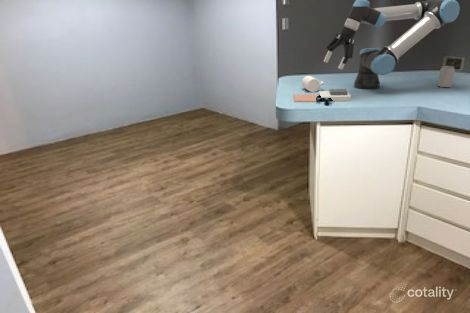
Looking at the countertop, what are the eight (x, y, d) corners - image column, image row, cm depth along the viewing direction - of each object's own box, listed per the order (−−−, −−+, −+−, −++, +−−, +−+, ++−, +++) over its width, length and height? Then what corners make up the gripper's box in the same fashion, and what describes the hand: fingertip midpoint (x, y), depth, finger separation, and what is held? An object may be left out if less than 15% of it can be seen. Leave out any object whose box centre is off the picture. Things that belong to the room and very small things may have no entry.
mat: (318, 95, 215) (318, 94, 215) (320, 101, 203) (320, 101, 202) (293, 95, 217) (293, 94, 217) (294, 101, 204) (294, 101, 204)
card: (345, 92, 209) (345, 88, 208) (347, 95, 203) (347, 91, 202) (329, 92, 210) (329, 89, 209) (330, 95, 204) (330, 91, 204)
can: (445, 88, 217) (449, 68, 212) (434, 86, 224) (438, 66, 219) (454, 87, 220) (458, 66, 215) (443, 84, 226) (447, 64, 221)
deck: (347, 95, 212) (347, 91, 211) (350, 101, 201) (350, 96, 200) (318, 95, 214) (318, 91, 213) (320, 101, 203) (320, 96, 202)
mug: (307, 92, 222) (307, 79, 218) (301, 88, 231) (301, 76, 227) (325, 90, 224) (326, 77, 220) (319, 87, 233) (319, 74, 229)
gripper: (331, 21, 209) (315, 57, 216) (360, 30, 189) (341, 70, 197) (340, 26, 213) (324, 61, 220) (370, 35, 193) (351, 73, 201)
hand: (332, 65), depth 208 cm, fingers open, 13 cm apart
